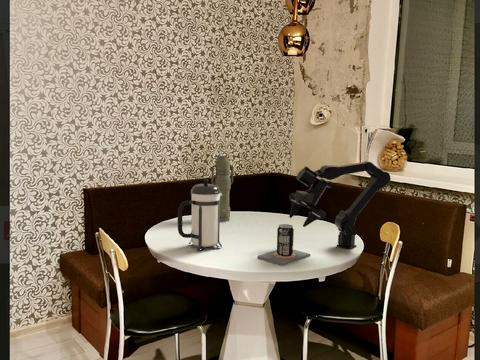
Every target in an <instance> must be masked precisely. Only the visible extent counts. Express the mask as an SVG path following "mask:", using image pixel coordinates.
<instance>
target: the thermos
mask: <svg viewBox="0 0 480 360" xmlns="http://www.w3.org/2000/svg"><path fill="white" fill-rule="evenodd" d="M214 171H215V173H214ZM233 183H234V167H233V165H231V163H230V159H229V156H227V155H219V156H217V157H216V160H215V164H213V165H212V166H211V184H214V185H216V186H218V187H219V189H220V190H221V193H222V196H220V221H228V222H230V221H229V220H231V218H230V217H231V207H230V191H231V185H233Z"/></svg>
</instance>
